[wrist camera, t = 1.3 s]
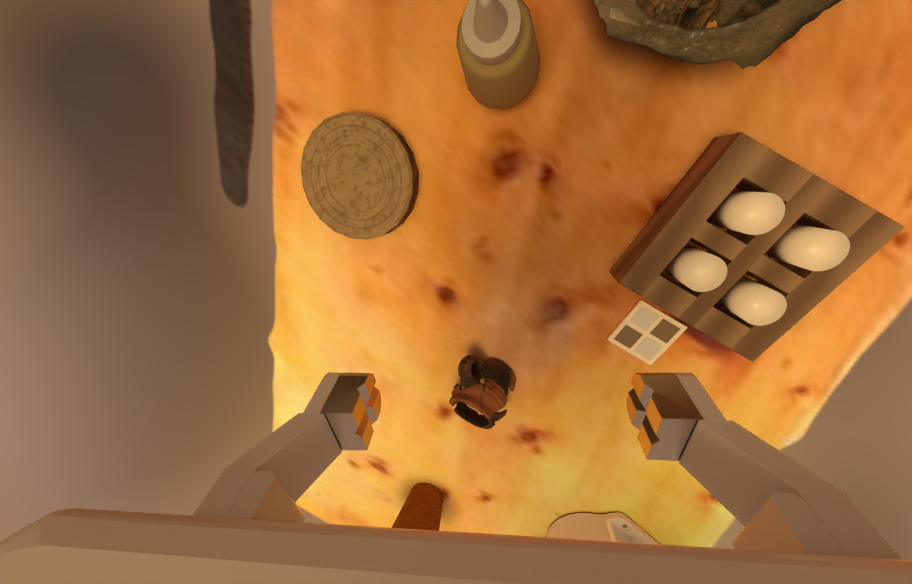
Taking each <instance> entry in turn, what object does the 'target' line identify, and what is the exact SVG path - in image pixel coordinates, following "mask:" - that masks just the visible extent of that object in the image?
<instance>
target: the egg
mask: <svg viewBox="0 0 912 584" xmlns="http://www.w3.org/2000/svg"><path fill="white" fill-rule="evenodd" d="M666 271H667V272H668V274H669V275H671V276H672V277H674V278H675V279H677V280H678V281H679V282H681V283H682V284H684V285H685V286H687V287H688V288H690V289H691V290H693V291H697V292H707V291H711V290H713V289H715V288H717V287H718V286H720V285H721V284H722V283H723V281H724V280H725V278H726V276H727V266H726V264H725V262H724V261H723V260H722V259H721V258H719V257H717V256H715V255H712V254H710V253H708V252H705V251H703V250H700V249H698V248H695V247H693V246H684V247H683V248H682V249H681V250H680V252H679V253H678V254H677V255H676V256H675V257H674V259H673V260H672V261H671V262H670V263H669V264H668V266H667V267H666Z"/></svg>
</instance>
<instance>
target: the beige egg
mask: <svg viewBox="0 0 912 584" xmlns="http://www.w3.org/2000/svg"><path fill="white" fill-rule="evenodd" d="M784 214H785V204H784V202H783V200H782V199H781V198H780V197H779V196H778V195H776V194H773V193H766V192H750V191H731V192H730V193H729V195H728V196H727V197H726V198H725V199H724V200H723V202H722V203H721V204H720V205H719V206H718V207H717V208H716V210H715V211H714V212H713V213H712V214H711V215H710V219H711V221H712V222H713V223H714V224H715V225H716V226H719V227H722V228H726V229H730V230H733V231H737V232H741V233H745V234H749V235H760V234H764V233H767V232H769V231H771V230H772V229H774V228H775V227H776V226H777V225H778V224H779V223H780V222H781V220H782V219H783V217H784Z"/></svg>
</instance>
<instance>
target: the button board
mask: <svg viewBox="0 0 912 584" xmlns="http://www.w3.org/2000/svg"><path fill="white" fill-rule="evenodd" d="M734 188H737V189H738V190H740V191H750V192H766V193H773V194H776V195H778V196H779V197H780V198H781V199H782V200H783V202H784V204H785V214H784V217H783V219H782V220H781V222H780V223H779V224H778V225H777V226H776V227H775V228H774V229H772V230H771V231H769V232H767V233H764V234H760V235H749V234H745V233H741V232H737V231H733V230H730V229H728V230H727V231H726V232H724V231H722V230H720V229H719V228H717V227H715V226H713V225H712V224H710V223H708V222H707V221H706V220H707V219H708V218H709V217H710V215H711V214H712V213H713V212H714V211H715V210H716V208H717V207H718V206H719V205H720V204H721V203H722V202H723V200H724V199H725V198H726V197H727V196H728V195H729V193H730V192H731V191H732V190H733V189H734ZM794 223H797V224H799V225H805V226H811V227H817V228H823V229H828V230H834V231H839V232H841V233H843V234H844V235H846V236H847V238H848V239H849V242H850V249H849V252H848V255H847V256H846V258H845V259H844V260H843V261H842V262H841V263H840V264H838V265H837V266H835V267H833V268H831V269H828V270H825V271H810V270H807V269H804V268H801V267H798V266H795V265H792V264H789V263H786V262H783V261H780V260H779V261H778V262H775V261H773V260H772V259H770V258H768V257H767V256H765V255H764V254H765V253H766V252H767V251H768V250H769V249H770V248H771V247H772V245H773V244H774V243H775V242H776V241H777V240H778V239H779V238H780V237H781V236H782V235H783V234H784V233H785V232H786V231H787V230H788V229H789V228H790V227H791V226H792V225H793V224H794ZM903 228H904V226H902V225H901V224H899V223H897V222H895V221H894V220H892V219H890V218H888V217H887V216H885V215H883V214H882V213H880V212H878V211H876V210H875V209H873V208H871V207H869V206H868V205H866V204H864V203H863V202H861V201H859V200H857V199H856V198H854V197H852V196H851V195H849V194H847V193H845V192H844V191H842V190H840V189H838V188H837V187H835V186H833V185H832V184H830V183H828V182H826V181H825V180H823V179H821V178H819V177H818V176H816V175H814V174H813V173H811V172H809V171H807V170H806V169H804V168H802V167H800V166H799V165H797V164H795V163H794V162H792V161H790V160H788V159H787V158H785V157H783V156H781V155H780V154H778V153H776V152H775V151H773V150H771V149H769V148H768V147H766V146H764V145H762V144H761V143H759V142H757V141H756V140H754V139H752V138H750V137H749V136H747V135H745V134H744V133H742V132H740V133H736V134H731V135H726V136H722V137H717V138H714V139H713V140H712V142H711V143H710V144H709V145H708V147H707V148H706V149H705V151H704V152H703V153H702V154H701V156H700V157H699V158H698V159H697V161H696V162H695V163H694V165H693V166H692V167H691V168H690V170H689V171H688V172H687V173H686V175H685V176H684V177H683V179H682V180H681V181H680V182H679V184H678V185H677V186H676V187H675V189H674V190H673V191H672V193H671V194H670V195H669V196H668V198H667V199H666V200H665V201H664V203H663V204H662V205H661V207H660V208H659V209H658V210H657V212H656V213H655V214H654V215H653V217H652V218H651V219H650V221H649V222H648V223H647V224H646V226H645V227H644V228H643V229H642V231H641V232H640V233H639V235H638V236H637V237H636V238H635V240H634V241H633V242H632V244H631V245H630V246H629V247H628V249H627V250H626V251H625V252H624V254H623V255H622V256H621V258H620V259H619V260H618V261H617V263H616V264H615V265H614V266H613V268H612V269H611V270H610V273H611V274H612V276H613V277H614V278H615V279H616V280H617V281H618V282H619V283H620V284H621V285H623V286H625V287H627V288H628V289H630V290H632V291H633V292H635V293H637V294H638V295H640V296H642V297H644V298H645V299H647V300H649V301H650V302H652V303H654V304H655V305H657V306H659V307H661V308H662V309H664V310H666V311H667V312H669V313H671V314H672V315H674V316H676V317H678V318H679V319H681V320H683V321H684V322H686V323H688V324H689V325H691V326H693V327H694V328H696V329H698V330H700V331H701V332H703V333H705V334H706V335H708V336H710V337H711V338H713V339H715V340H717V341H718V342H720V343H722V344H723V345H725V346H727V347H728V348H730V349H732V350H734V351H735V352H737V353H739V354H740V355H742V356H744V357H745V358H747V359H749V360H751V361H752V362H753V361H754V360H755V359H756V358H757V357H759V356H760V355H761V354H762V353H763V352H764V351H765V350H766V349H768V348H769V347H770V346H771V345H772V344H773V343H774V342H775V341H777V340H778V339H779V338H780V337H781V336H782V335H783V334H785V333H786V332H787V331H788V330H789V329H790V328H791V327H792V326H794V325H795V324H796V323H797V322H798V321H799V320H800V319H801V318H803V317H804V316H805V315H806V314H807V313H808V312H809V311H810V310H812V309H813V308H814V307H815V306H816V305H817V304H818V303H820V302H821V301H822V300H823V299H824V298H825V297H826V296H827V295H829V294H830V293H831V292H832V291H833V290H834V289H835V288H836V287H838V286H839V285H840V284H841V283H842V282H843V281H844V280H845V279H847V278H848V277H849V276H850V275H851V274H852V273H853V272H855V271H856V270H857V269H858V268H859V267H860V266H861V265H862V264H864V263H865V262H866V261H867V260H868V259H869V258H870V257H871V256H873V255H874V254H875V253H876V252H877V251H878V250H879V249H880V248H882V247H883V246H884V245H885V244H886V243H887V242H888V241H890V240H891V239H892V238H893V237H894V236H895V235H896V234H897V233H899V232H900V231H901V230H902V229H903ZM689 240H690V241H692V242H693V243H695V244H697V245H699V246H700V247H702V248H704V249H705V250H707V251H708V253H710V254H712V255H715V256H717V257H719V258H721V259H722V260H723V261H724V262H725V264H726V266H727V276H726V278H725V280H724V281H723V283H722V284H721V285H720V286H718V287H717V288H715V289H713V290H711V291H707V292H697V291H693V290H691V289H690V288H688V287H687V286H685V285H684V284H682V283H681V282H680V284H677V283H675V282H674V281H672V280H670V279H669V278H667V277H665V276H663V275H662V274H661V273H662V271H663V270H664V269H665V268H666V267H667V266H668V264H669V263H670V262H671V261H672V260H673V259H674V257H675V256H676V255H677V254H678V253H679V252H680V250H681V249H682V248H683V247H684V246H685V245H686V243H687V242H688V241H689ZM745 273H746V274H748V275H750V276H752V277H753V278H755V279H757V280H758V282H757V283H759V284H762V285H764V286H766V287H768V288H770V289H773V290H775V291H777V292H779V293H781V294H782V295H783V296H784V297H785V299H786V302H787V308H786V311H785V313H784V314H783V316H782V317H781V318H780V319H778V320H777V321H775V322H773V323H771V324H768V325H763V326H757V325H752V324H749V323H748V322H746V321H744V320H743V319H741V318H740V317H738V316H737V315H735V314H734V313H732V312H731V311H729V310H728V311H727V312H725V311H723V310H721V309H720V308H718V307H716V306H715V304H716V303H717V302H718V301H719V300H720V299H721V298H722V297H723V296H724V295H725V294H726V293H727V291H728V290H729V289H730V288H731V287H732V286H733V285H734V284H735V283H736V282H737V281H738V280H739V279H740V278H741V277H742V276H743V275H744V274H745Z"/></svg>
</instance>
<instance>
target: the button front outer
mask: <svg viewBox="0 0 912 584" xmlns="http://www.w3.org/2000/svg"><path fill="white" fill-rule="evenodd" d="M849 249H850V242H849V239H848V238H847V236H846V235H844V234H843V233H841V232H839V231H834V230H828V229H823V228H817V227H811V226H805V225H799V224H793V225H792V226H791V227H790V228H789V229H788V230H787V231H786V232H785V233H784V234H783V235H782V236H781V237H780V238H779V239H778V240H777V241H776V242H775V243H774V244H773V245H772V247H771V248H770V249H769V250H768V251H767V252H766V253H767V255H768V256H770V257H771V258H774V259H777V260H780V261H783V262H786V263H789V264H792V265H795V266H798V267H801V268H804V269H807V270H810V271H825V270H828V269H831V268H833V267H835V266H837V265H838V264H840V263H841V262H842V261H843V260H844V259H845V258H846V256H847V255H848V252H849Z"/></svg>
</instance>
